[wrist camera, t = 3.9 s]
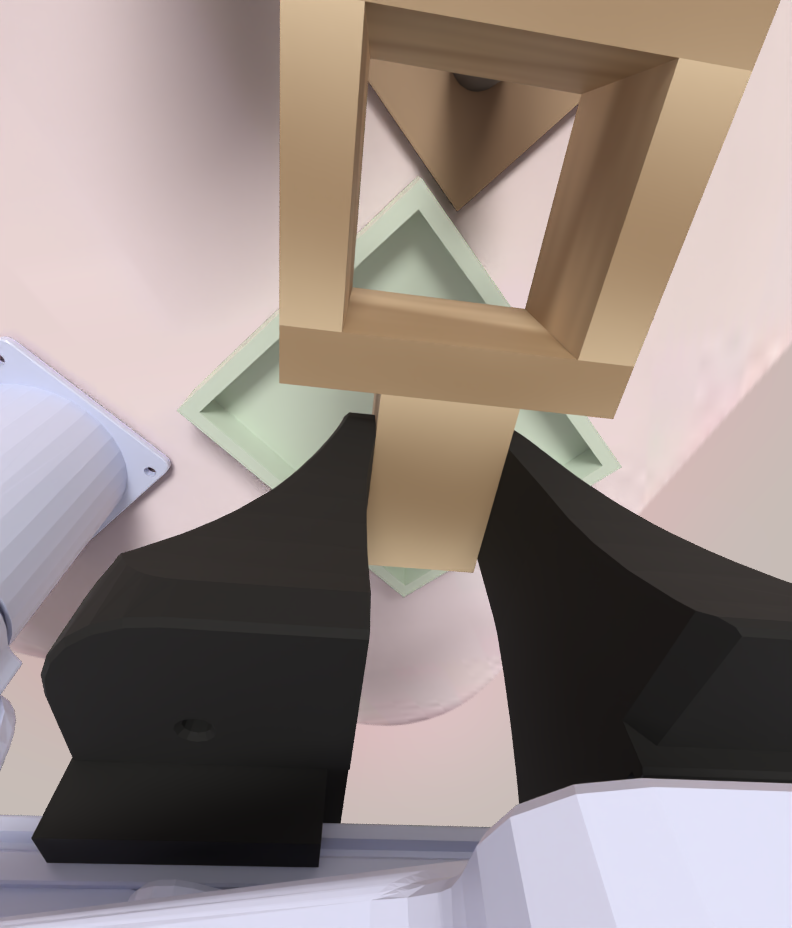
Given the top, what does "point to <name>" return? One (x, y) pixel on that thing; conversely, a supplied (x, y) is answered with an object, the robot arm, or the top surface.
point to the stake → (466, 121)
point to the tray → (321, 409)
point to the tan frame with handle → (562, 252)
